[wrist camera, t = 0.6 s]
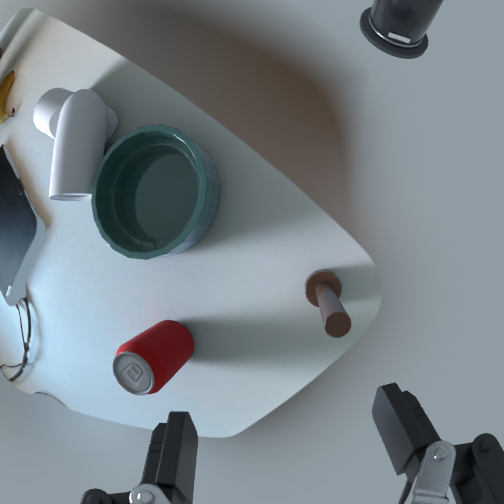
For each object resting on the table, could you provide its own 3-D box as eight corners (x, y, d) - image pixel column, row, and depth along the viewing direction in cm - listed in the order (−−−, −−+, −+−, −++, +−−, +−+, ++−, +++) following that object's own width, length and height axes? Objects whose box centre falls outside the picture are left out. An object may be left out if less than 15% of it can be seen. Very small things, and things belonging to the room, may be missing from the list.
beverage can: (146, 339, 40) (99, 370, 28) (169, 308, 39) (122, 334, 27) (179, 369, 40) (141, 410, 28) (205, 340, 39) (169, 378, 27)
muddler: (320, 262, 36) (336, 283, 20) (346, 284, 35) (378, 320, 19) (297, 288, 36) (295, 328, 20) (323, 310, 36) (338, 363, 20)
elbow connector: (152, 110, 37) (79, 84, 39) (103, 97, 27) (36, 75, 29) (113, 215, 43) (51, 170, 45) (64, 227, 33) (9, 174, 35)
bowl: (161, 119, 38) (142, 104, 32) (246, 183, 36) (236, 174, 31) (99, 207, 40) (74, 205, 34) (170, 280, 39) (149, 287, 33)
